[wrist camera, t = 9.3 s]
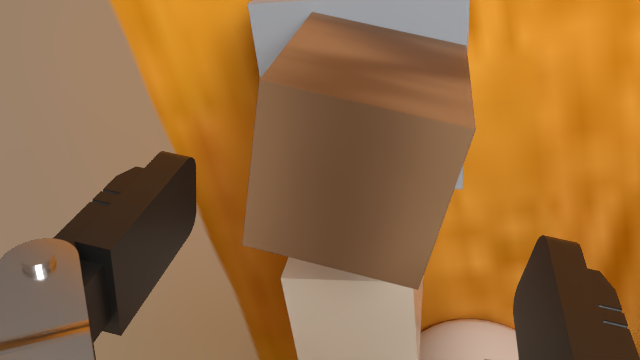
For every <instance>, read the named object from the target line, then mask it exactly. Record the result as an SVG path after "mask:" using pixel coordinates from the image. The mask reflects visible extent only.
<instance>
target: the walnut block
mask: <svg viewBox="0 0 640 360" xmlns="http://www.w3.org/2000/svg"><path fill="white" fill-rule="evenodd" d="M475 130H476V127H475V118H474V109H473V100H472V91H471V82H470V74H469V65H468V56H467V47H466V45H462V44H457V43H453V42H448V41H444V40H439V39H434V38H430V37H425V36H421V35H416V34H411V33H407V32H402V31H398V30H393V29H389V28H384V27H379V26H375V25H370V24H366V23H361V22H357V21H352V20H347V19H343V18H338V17H334V16H329V15H324V14H320V13H315V12H312V13H311V14H310V15H309V17H308V18H307V19H306V20H305V22H304V23H303V24H302V26H301V27H300V28H299V29H298V31H297V32H296V33H295V35H294V36H293V37H292V38H291V40H290V41H289V42H288V44H287V45H286V46H285V47H284V49H283V50H282V51H281V53H280V54H279V55H278V56H277V58H276V59H275V60H274V62H273V63H272V64H271V65H270V67H269V68H268V69H267V70H266V72H265V73H264V74H263V76H262V77H261V78H260V79H259V88H258V97H257V107H256V116H255V126H254V136H253V145H252V155H251V165H250V174H249V184H248V193H247V203H246V213H245V222H244V232H243V242H242V245H243V246H247V247H251V248H255V249H259V250H263V251H267V252H271V253H275V254H279V255H283V256H286V257H290V258H294V259H298V260H302V261H306V262H310V263H314V264H318V265H322V266H326V267H330V268H334V269H338V270H342V271H345V272H349V273H353V274H357V275H361V276H365V277H369V278H373V279H377V280H381V281H385V282H389V283H393V284H397V285H401V286H404V287H408V288H412V289H416V290H418V289H419V286H420V284H421V281H422V278H423V275H424V272H425V270H426V267H427V264H428V261H429V258H430V256H431V253H432V250H433V247H434V245H435V242H436V239H437V236H438V233H439V231H440V228H441V225H442V222H443V219H444V217H445V214H446V211H447V208H448V205H449V203H450V200H451V197H452V194H453V192H454V189H455V186H456V183H457V180H458V178H459V175H460V172H461V169H462V166H463V164H464V161H465V158H466V155H467V152H468V150H469V147H470V144H471V141H472V138H473V136H474V133H475Z"/></svg>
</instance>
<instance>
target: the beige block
mask: <svg viewBox="0 0 640 360" xmlns="http://www.w3.org/2000/svg"><path fill="white" fill-rule="evenodd" d="M281 283H282V287H283V292H284V296H285V301H286V306H287V310H288V315H289V320H290V324H291V329H292V333H293V338H294V343H295V347H296V352H297V357H298V360H419V352H420V333H421V313H422V294H423V278H422V281H421V284H420V286H419V289H418V290H416V289H412V288H408V287H404V286H401V285H397V284H393V283H389V282H385V281H381V280H377V279H373V278H369V277H365V276H361V275H357V274H353V273H349V272H345V271H342V270H338V269H334V268H330V267H326V266H322V265H318V264H314V263H310V262H306V261H302V260H298V259H294V258H290V257H288V260H287V263H286V265H285V268H284V271H283V273H282V276H281Z"/></svg>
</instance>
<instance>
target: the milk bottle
mask: <svg viewBox="0 0 640 360" xmlns="http://www.w3.org/2000/svg"><path fill="white" fill-rule="evenodd" d="M419 360H519V357H518V348H517V340H516V332H515V329H512V328H510V327H507V326H505V325H503V324H500V323H495V322H491V321H488V320H478V319H457V320H452V321H446V322H442V323H440V324H437V325H434V326H431V327H430V328H428V329H426V330H424V331H422V332H421V333H420V352H419Z"/></svg>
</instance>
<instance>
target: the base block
mask: <svg viewBox="0 0 640 360" xmlns="http://www.w3.org/2000/svg"><path fill="white" fill-rule="evenodd" d="M469 3H470V0H252V1H251V2H250V3H248V9H249V15H250V21H251V27H252V33H253V39H254V45H255V51H256V57H257V63H258V69H259V76H260V78H261V77H262V76H263V74H264V73H265V72H266V70H267V69H268V68H269V67H270V65H271V64H272V63H273V62H274V60H275V59H276V58H277V56H278V55H279V54H280V53H281V51H282V50H283V49H284V47H285V46H286V45H287V44H288V42H289V41H290V40H291V38H292V37H293V36H294V35H295V33H296V32H297V31H298V29H299V28H300V27H301V26H302V24H303V23H304V22H305V20H306V19H307V18H308V17H309V15H310V14H311V13H312V12H315V13H320V14H324V15H329V16H334V17H338V18H343V19H347V20H352V21H357V22H361V23H366V24H370V25H375V26H379V27H384V28H389V29H393V30H398V31H402V32H407V33H411V34H416V35H421V36H425V37H430V38H434V39H439V40H444V41H448V42H453V43H457V44H462V45H466V47H467V55H468V29H469ZM462 185H463V166H462V169H461V172H460V175H459V178H458V180H457V183H456V186H455V189H462Z"/></svg>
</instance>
